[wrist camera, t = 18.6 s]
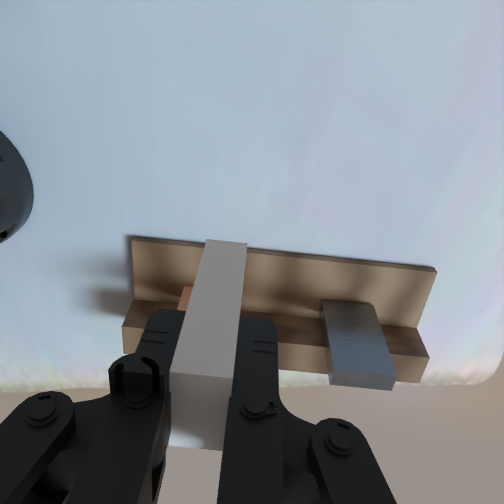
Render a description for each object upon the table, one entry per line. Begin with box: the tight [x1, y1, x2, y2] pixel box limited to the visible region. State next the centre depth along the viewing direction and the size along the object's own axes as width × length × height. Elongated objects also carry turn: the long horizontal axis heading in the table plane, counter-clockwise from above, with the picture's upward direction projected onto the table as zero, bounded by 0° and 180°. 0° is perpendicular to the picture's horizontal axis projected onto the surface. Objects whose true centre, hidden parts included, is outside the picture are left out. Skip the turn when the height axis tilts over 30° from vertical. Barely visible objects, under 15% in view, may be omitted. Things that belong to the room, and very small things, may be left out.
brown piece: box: [122, 236, 437, 383], centre depth 49 cm, size 34×12×6 cm, turn 85°
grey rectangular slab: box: [319, 300, 397, 391], centre depth 46 cm, size 6×2×11 cm, turn 85°
